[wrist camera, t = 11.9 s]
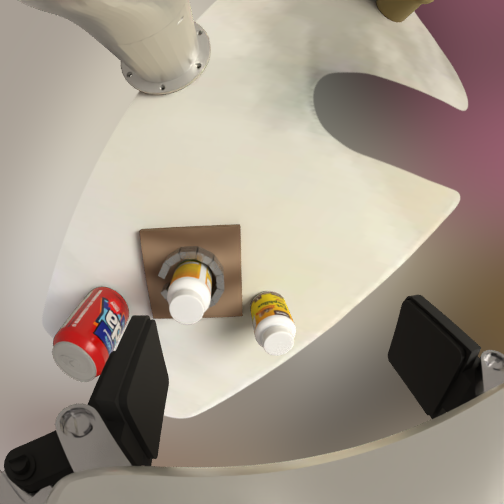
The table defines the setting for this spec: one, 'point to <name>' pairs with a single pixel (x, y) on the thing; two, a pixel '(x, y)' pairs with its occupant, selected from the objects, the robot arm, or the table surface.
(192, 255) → the steel ring
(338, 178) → the table surface
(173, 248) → the base plate
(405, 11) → the cork
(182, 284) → the supplement bottle
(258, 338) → the supplement bottle
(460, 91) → the table surface
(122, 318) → the soda can
